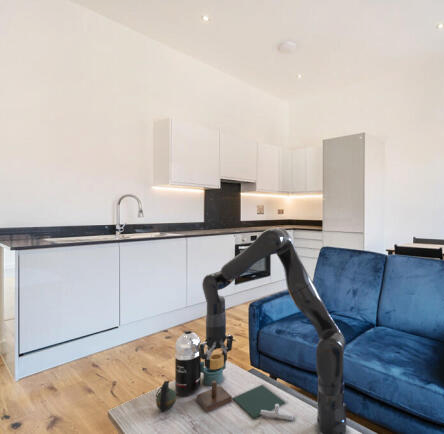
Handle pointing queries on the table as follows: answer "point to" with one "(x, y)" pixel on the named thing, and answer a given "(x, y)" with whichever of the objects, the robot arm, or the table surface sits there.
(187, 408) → the table surface
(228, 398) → the tape holder
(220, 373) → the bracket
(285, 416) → the pipe joint
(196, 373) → the black ribbed cylinder
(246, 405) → the desk mat
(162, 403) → the hand grenade
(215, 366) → the tape roll
